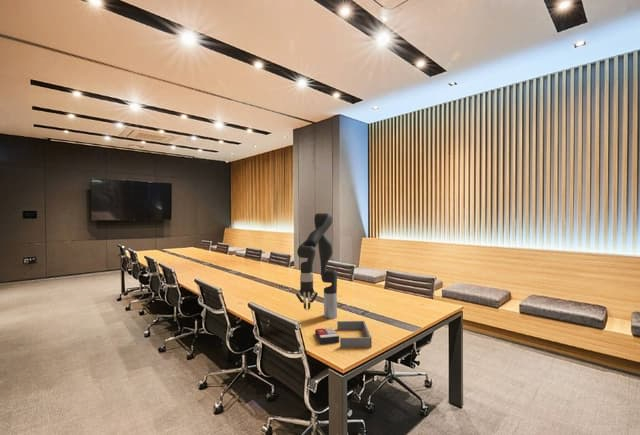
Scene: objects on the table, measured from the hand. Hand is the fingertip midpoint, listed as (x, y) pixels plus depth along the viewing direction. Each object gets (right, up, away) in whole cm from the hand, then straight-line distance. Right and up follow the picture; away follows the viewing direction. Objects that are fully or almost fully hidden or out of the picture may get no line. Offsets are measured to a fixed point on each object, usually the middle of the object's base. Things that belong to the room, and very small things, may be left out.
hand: (307, 309), depth 176 cm
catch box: (+27, -17, 0) cm, 32 cm away
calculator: (+12, -18, 0) cm, 21 cm away
